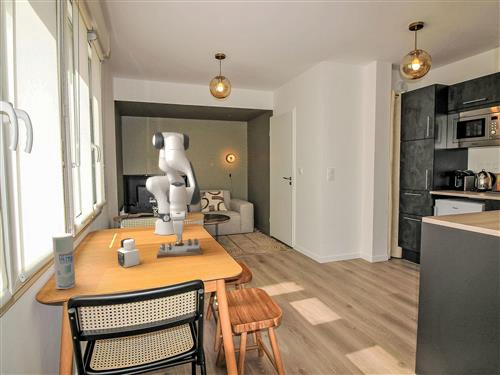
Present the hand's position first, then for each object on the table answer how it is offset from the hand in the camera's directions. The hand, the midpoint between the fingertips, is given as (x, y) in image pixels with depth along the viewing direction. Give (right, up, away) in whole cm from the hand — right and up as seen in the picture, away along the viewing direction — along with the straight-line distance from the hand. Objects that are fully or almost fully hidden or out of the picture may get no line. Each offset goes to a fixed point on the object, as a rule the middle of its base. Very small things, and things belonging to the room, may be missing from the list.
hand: (179, 239), depth 153 cm
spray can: (-34, -11, -41) cm, 54 cm away
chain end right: (+3, -5, +1) cm, 6 cm away
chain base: (0, -7, +1) cm, 7 cm away
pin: (0, -5, 0) cm, 5 cm away
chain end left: (-3, -6, 0) cm, 6 cm away
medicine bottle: (-20, -9, -16) cm, 27 cm away
